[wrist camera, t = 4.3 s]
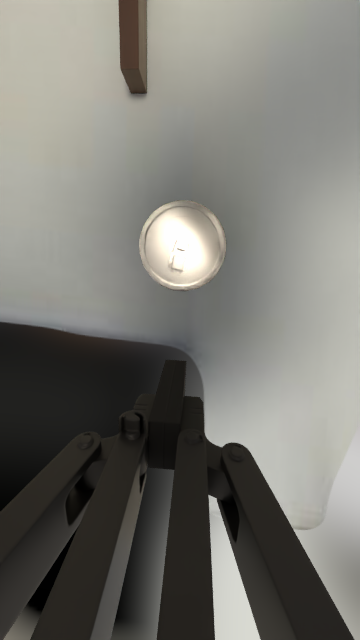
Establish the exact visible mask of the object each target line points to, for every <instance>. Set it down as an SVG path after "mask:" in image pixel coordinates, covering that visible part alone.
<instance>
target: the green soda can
mask: <svg viewBox="0 0 360 640" xmlns="http://www.w3.org/2000/svg"><path fill="white" fill-rule="evenodd" d="M226 244H227V243H226V238H225V233H224V229H223V227H222V225H221V223H220V222H219V220H218V218H217V216H216V215H215V214H213V213H212V212H211V211H210V210H209V209H208V208H207V207H206V206H203V205H201V204H199V203H196V202H194V201H185V200H177V201H174V202H170V203H167V204H164V205H163V206H161V207H160V208H159V209H157V210H156V211H154V212H153V213H152V214H151V216H150V217H149V218H148V220H147V221H146V223H145V224H144V226H143V229H142V232H141V235H140V248H139V252H140V256H141V259H142V262H143V265H144V267H145V269H146V270H147V272H148V273H149V275H150V276H151V277H152V278H153V279H154V280H155V281H156V282H158V283H159V284H160V285H161V286H164V287H166V288H169V289H171V290H176V291H189V290H193V289H198V288H200V287H202V286H203V285H205V284H207V283H208V282H210V281H211V280H212V279H213V277H214V276H215V275H216V274H217V273H218V272H219V270H220V268H221V266H222V263H223V261H224V259H225V253H226Z"/></svg>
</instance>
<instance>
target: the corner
mask: <svg viewBox="0 0 360 640" xmlns="http://www.w3.org/2000/svg"><path fill="white" fill-rule="evenodd" d="M119 28H120V65H121V71H122V73H123V76H124V78H125V80H126V83H127V85H128V87H129V90H130V92H131V93H147V0H119Z"/></svg>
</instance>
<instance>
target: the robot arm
mask: <svg viewBox="0 0 360 640" xmlns="http://www.w3.org/2000/svg"><path fill="white" fill-rule="evenodd" d="M185 375H186V361H177V360H166V361H165V365H164V368H163V371H162V375H161V379H160V382H159V385H158V389H157V392H156V395H155V394H142V395H140V396H139V397H138V398H137V400H136V403H135V405H134V408H133V410H132V411H127V412H125V413H123V414H121V415H120V417H119V418H118V421H119V434H118V435H116V436H114V437H109V438H103V439H101V437H100V436H99V434H97V433H96V432H84V433H82V434H79V435H78V436H76V437H75V438H74V439H73V440H72V441H71V442H70V443H69V444H68V445H67V446H66V447H65V448H64V449H63V450H62V451H61V452H60V453H59V454H58V455H57V456H56V457H55V458H54V459H53V460H52V461H51V462H50V463H49V464H48V465H47V466H46V467H45V468H44V469H43V470H42V471H41V472H40V473H39V474H38V475H37V476H36V477H35V478H34V479H33V480H32V481H31V482H30V483H29V484H28V485H27V486H26V487H25V488H24V489H23V490H22V491H21V492H20V493H19V494H18V495H17V496H16V497H15V498H14V499H13V500H12V501H11V502H10V503H9V504H8V505H7V506H6V507H5V508H4V509H3V510H2V511H1V512H0V640H3V639H4V637H5V636H6V634H7V633H8V631H9V630H10V628H11V627H12V625H13V624H14V622H15V621H16V619H17V618H18V616H19V615H20V613H21V612H22V610H23V609H24V607H25V606H26V604H27V603H28V601H29V600H30V598H31V597H32V595H33V593H34V592H35V591H36V589H37V587H38V586H39V584H40V583H41V581H42V580H43V578H44V577H45V575H46V574H47V572H48V571H49V569H50V568H51V566H52V565H53V563H54V562H55V560H56V559H57V557H58V556H59V554H60V553H61V551H62V550H63V548H64V547H65V545H66V544H67V542H68V541H69V539H70V538H71V536H72V534H73V533H74V531H75V530H76V528H77V527H78V525H79V524H80V525H79V527H78V530H77V532H76V534H75V537H74V539H73V541H72V544H71V546H70V548H69V551H68V553H67V555H66V558H65V560H64V562H63V565H62V567H61V569H60V572H59V574H58V576H57V579H56V581H55V583H54V586H53V588H52V590H51V593H50V595H49V597H48V600H47V602H46V604H45V607H44V609H43V611H42V614H41V616H40V618H39V621H38V623H37V625H36V628H35V630H34V633H33V635H32V637H31V639H30V640H110V639H111V634H112V629H113V625H114V620H115V616H116V611H117V607H118V602H119V598H120V593H121V588H122V584H123V580H124V575H125V571H126V566H127V562H128V557H129V553H130V548H131V544H132V539H133V535H134V530H135V525H136V521H137V517H138V512H139V508H140V503H141V499H142V494H143V490H144V485H145V481H146V468H147V464H148V467H150V468H162V469H172V470H175V471H174V480H173V490H172V499H171V509H170V518H169V528H168V538H167V547H166V556H165V566H164V575H163V585H162V594H161V604H160V613H159V623H158V633H157V640H215V633H214V609H213V588H212V565H211V543H210V522H209V521H210V520H209V498H208V495H210V496H213V497H215V498H217V502H218V506H219V509H220V512H221V515H222V518H223V521H224V525H225V527H226V531H227V534H228V537H229V540H230V544H231V546H232V550H233V553H234V556H235V559H236V563H237V566H238V569H239V572H240V575H241V579H242V582H243V585H244V588H245V591H246V594H247V598H248V600H249V604H250V607H251V610H252V613H253V617H254V620H255V623H256V626H257V629H258V632H259V635H260V639H261V640H354V639H353V636H352V635H351V633H350V631H349V629H348V628H347V626H346V624H345V622H344V620H343V619H342V617H341V615H340V613H339V611H338V609H337V608H336V606H335V604H334V602H333V601H332V599H331V597H330V595H329V593H328V591H327V590H326V588H325V586H324V584H323V583H322V581H321V579H320V577H319V575H318V574H317V572H316V570H315V568H314V566H313V565H312V563H311V561H310V559H309V557H308V556H307V554H306V552H305V550H304V548H303V547H302V545H301V543H300V541H299V539H298V538H297V536H296V534H295V532H294V530H293V528H292V527H291V525H290V523H289V521H288V519H287V518H286V516H285V514H284V512H283V510H282V509H281V507H280V505H279V503H278V501H277V500H276V498H275V496H274V494H273V492H272V491H271V489H270V487H269V485H268V483H267V482H266V480H265V478H264V476H263V474H262V473H261V471H260V469H259V467H258V465H257V464H256V462H255V460H254V458H253V456H252V455H251V453H250V451H249V450H248V449H247V448H246V447H244V446H243V445H241V444H238V443H228V444H226V445H224V446H223V447H219V446H216V445H214V444H212V443H211V442H210V441H209V440H208V439H207V438H206V436H205V433H204V410H203V402H202V400H201V399H200V397H191V396H185V377H186V376H185Z"/></svg>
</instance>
